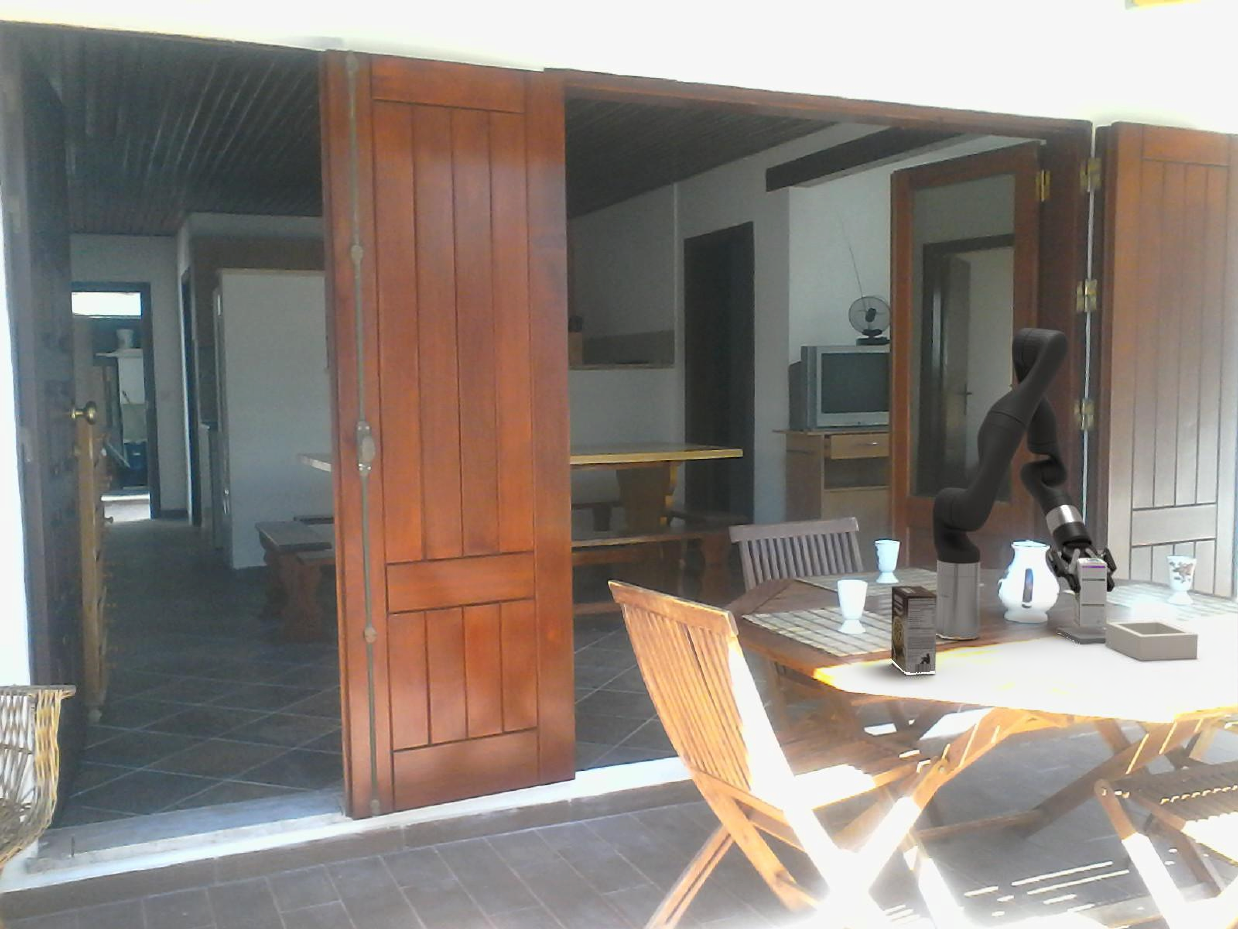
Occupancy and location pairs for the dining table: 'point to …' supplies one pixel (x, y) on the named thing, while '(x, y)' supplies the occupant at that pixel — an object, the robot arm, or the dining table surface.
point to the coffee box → (914, 628)
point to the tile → (1084, 634)
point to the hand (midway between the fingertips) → (1094, 590)
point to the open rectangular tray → (1151, 640)
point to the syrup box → (1091, 593)
